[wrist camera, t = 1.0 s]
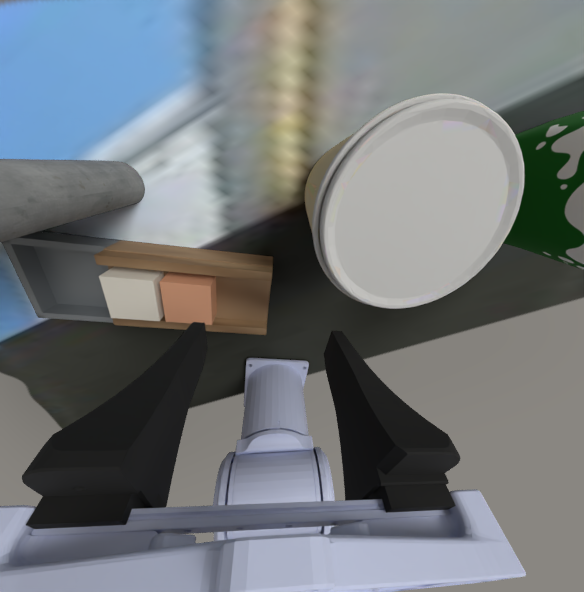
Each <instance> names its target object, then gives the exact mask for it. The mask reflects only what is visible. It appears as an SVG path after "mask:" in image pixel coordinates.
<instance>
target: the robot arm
mask: <svg viewBox="0 0 584 592" xmlns="http://www.w3.org/2000/svg"><path fill="white" fill-rule="evenodd" d="M206 352H207V339H206V328H205V323H201V322H193V323H191V325H190V326H189V327H188V328H187V329H186V331H185V332H184V333H183V334H182V335H181V336H180V338H179V339H178V340H177V341H176V342H175V343H174V344H173V345H172V346H171V347H170V348H169V349H168V351H167V352H166V353H165V354H164V355H163V356H162V357H160V358H159V359H158V360H157V361H156V362H155V363H154V364H153V365H152V366H151V367H150V368H149V369H148V370H147V371H145V372H144V373H143V374H142V375H141V376H140V377H138V378H137V379H136V380H135V381H133V382H132V383H131V384H130V385H128V386H127V387H126V388H124V389H123V390H122V391H121V392H119V393H118V394H116V395H115V396H114V397H112V398H111V399H109V400H108V401H106V402H105V403H103V404H102V405H100V406H99V407H98V408H96V409H95V410H93V411H92V412H90V413H88V414H87V415H85V416H84V417H82V418H80V419H79V420H77V421H75V422H74V423H72V424H70V425H69V426H67V427H65V428H64V429H62V430H61V431H59V432H57V433H55V434H53V435H52V437H51V438H50V439H49V440H48V441H47V443H46V444H45V445H44V446H43V448H42V449H41V450H40V452H39V453H38V454H37V456H36V457H35V459H34V460H33V462H32V463H31V464H30V466H29V467H28V469H27V470H26V471H25V473H24V474H23V475H22V480H23V483H24V484H26V485H27V486H28V487H30V488H31V489H33V490H34V491H36V492H37V493H39V494H41V495H42V496H43V497H42V499H41V501H40V502H39V504H38V506H37V507H35V506H28V505H17V506H0V592H393V591H403V590H412V589H422V588H431V587H440V586H449V585H461V584H471V583H481V582H488V581H496V580H503V579H509V578H516V577H523V576H526V572H525V571H524V569H523V567H522V565H521V564H520V562H519V560H518V558H517V556H516V554H515V553H514V551H513V549H512V547H511V546H510V544H509V542H508V540H507V538H506V537H505V536H504V533H503V531H502V530H501V528H500V526H499V524H498V522H497V521H496V519H495V517H494V515H493V514H492V512H491V510H490V508H489V506H488V505H487V503H486V501H485V499H484V498H483V496H482V494H481V492H480V491H479V490H456V491H451V492H449V490H448V489H447V486H446V484H448V480H447V477H446V475H445V472H447V471H448V470H450V469H451V468H453V467H454V466H455V465H457V464H458V463H459V461H460V456H459V454H458V452H457V450H456V448H455V446H454V444H453V443H452V441H451V439H450V438H449V436H448V435H447V434H446V433H445V432H443V431H442V430H440V429H439V428H437V427H436V426H435V425H433V424H432V423H430V422H429V421H427V420H426V419H425V418H423V417H422V416H421V415H419V414H418V413H417V412H416V411H414V410H413V409H412V408H410V407H409V406H408V405H407V404H406V403H404V402H403V401H402V400H401V399H400V398H399V397H398V396H397V395H395V394H394V393H393V392H392V391H391V390H390V389H389V388H388V387H387V386H386V385H385V384H384V383H383V382H382V381H381V380H380V379H379V378H378V377H377V376H376V374H375V373H374V372H373V371H372V370H371V369H370V368H369V367H368V365H367V364H366V363H365V361H364V360H363V359H362V358H361V356H360V355H359V354H358V353H357V351H356V350H355V349H354V347H353V346H352V345H351V343H350V342H349V340H348V339H347V338H346V336H345V335H344V334H343V332H342V331H332V332H331V335H330V338H329V341H328V344H327V347H326V350H325V352H324V358H325V367H326V373H327V377H328V381H329V385H330V389H331V393H332V397H333V401H334V405H335V410H336V416H337V423H338V429H339V437H340V445H341V453H342V463H343V474H344V485H345V501H335V500H334V490H333V483H332V476H331V471H330V466H329V462H328V459H327V456H326V454H325V453H324V452H323V451H322V450H321V448H320V447H314V448H313V442H312V436H309V435H308V426H307V418H306V411H305V402H304V394H303V387H304V383H305V379H306V375H307V371H308V367H309V363H308V362H307V361H301V360H282V359H264V358H248V359H247V360H246V375H245V393H244V407H245V412H244V420H243V427H242V436H241V440H237V446H236V452H229V453H228V454H227V456H226V458H225V459H224V460H223V461H222V463H221V465H220V468H219V472H218V477H217V481H216V487H215V494H214V502H213V506H191V507H166V505H167V500H168V494H169V490H170V485H171V479H172V475H173V471H174V466H175V462H176V457H177V453H178V448H179V444H180V440H181V436H182V431H183V427H184V423H185V419H186V415H187V412H188V408H189V405H190V402H191V399H192V397H193V394H194V391H195V388H196V385H197V383H198V380H199V377H200V374H201V371H202V368H203V365H204V361H205V357H206ZM249 364H251V365H249ZM338 525H339V526H338ZM206 532H213V533H214V541H212V542H204V543H195V541H196V537H195V535H186V534H188V533H206Z"/></svg>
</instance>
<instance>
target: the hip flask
mask: <svg viewBox="0 0 584 592" xmlns="http://www.w3.org/2000/svg"><path fill="white" fill-rule="evenodd" d="M144 192H145V188H144V183H143V180H142V178H141V176H140V175H139V174H138V172H137V171H136V170H135V169H134V168H132V167H131V166H129V165H128V164H125V163H123V162H116V161H90V160H30V159H0V242H3V241H7V240H10V239H14V238H17V237H20V236H24V235H27V234H31V233H34V232H38V231H41V230H45V229H48V228H52V227H55V226H59V225H62V224H66V223H69V222H73V221H76V220H80V219H83V218H87V217H90V216H94V215H97V214H101V213H104V212H108V211H111V210H115V209H118V208H122V207H125V206H129V205H132V204H136V203H138V202H139V201H141V200H142V198H143V196H144Z"/></svg>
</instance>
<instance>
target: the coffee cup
mask: <svg viewBox="0 0 584 592" xmlns="http://www.w3.org/2000/svg"><path fill="white" fill-rule="evenodd" d="M523 189H524V161H523V157H522V152H521V149H520V146H519V143H518V140H517V138H516V136H515V134H514V133H513V131H512V129H511V128H510V127H509V125H508V124H507V123H506V122H505V121H504V120H503V119H502V118H501V117H500V116H499V115H498V114H497V113H495V112H494V111H492V110H491V109H490V108H488V107H487V106H485V105H483V104H482V103H480V102H478V101H476V100H474V99H471V98H469V97H465V96H461V95H457V94H446V93H444V94H429V95H424V96H418V97H414V98H411V99H408V100H405V101H402V102H400V103H398V104H396V105H393V106H391V107H389V108H387V109H386V110H384V111H382V112H381V113H379V114H377V115H376V116H375V117H373V118H372V119H371V120H369V121H368V122H367V123H365V124H364V125H363V126H362V127H361V128H360V129H359V130H358V131H356V132H355V133H354V134H352V135H351V136H349V137H348V138H346V139H345V140H343V141H342V142H340V143H339V144H337V145H336V146H334V147H333V148H332V149H330V150H329V151H328V152H326V153H325V154H324V155H323V156H322V157H321V158H320V159H319V160H318V161H317V163H316V164H315V166H314V167H313V169H312V170H311V172H310V175H309V177H308V180H307V183H306V188H305V206H306V211H307V215H308V219H309V223H310V227H311V231H312V234H313V242H314V248H315V252H316V255H317V258H318V261H319V263H320V265H321V267H322V269H323V271H324V273H325V274H326V276H327V277H328V278H329V280H330V281H331V282H332V283H333V284H334V285H335V286H336V287H337V288H338V289H339V290H340V291H341V292H343V293H344V294H345V295H347V296H349V297H350V298H352V299H354V300H356V301H359V302H362V303H365V304H368V305H371V306H375V307H381V308H388V309H400V308H409V307H415V306H419V305H423V304H426V303H429V302H432V301H435V300H437V299H439V298H441V297H443V296H445V295H447V294H449V293H451V292H453V291H454V290H456V289H457V288H459V287H460V286H462V285H463V284H465V283H466V282H467V281H469V280H470V279H471V278H472V277H473V276H475V275H476V274H477V273H478V272H479V271H480V270H481V269H482V268H483V267H484V266H485V265H486V264H487V263H488V262H489V261H490V259H491V258H492V257H493V256H494V255H495V253H496V252H497V251H498V250H499V248H500V246H501V245H502V243H503V242H504V240H505V239H506V237H507V235H508V233H509V232H510V230H511V228H512V225H513V223H514V221H515V219H516V216H517V213H518V211H519V207H520V203H521V199H522V195H523Z"/></svg>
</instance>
